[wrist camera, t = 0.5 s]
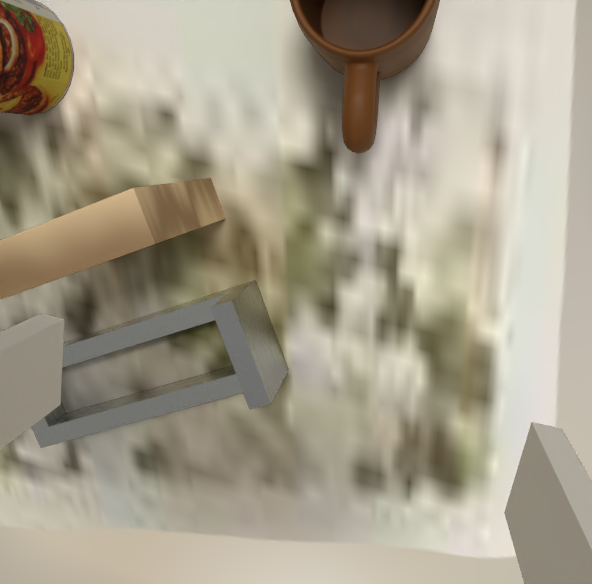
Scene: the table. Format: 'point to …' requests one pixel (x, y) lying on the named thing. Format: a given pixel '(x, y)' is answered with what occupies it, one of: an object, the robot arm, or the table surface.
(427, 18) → the mug
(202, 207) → the door panel
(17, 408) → the robot arm
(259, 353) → the track
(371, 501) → the table surface
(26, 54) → the canned food
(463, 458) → the table surface
